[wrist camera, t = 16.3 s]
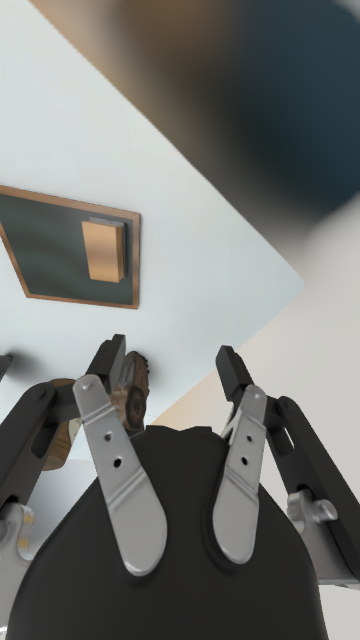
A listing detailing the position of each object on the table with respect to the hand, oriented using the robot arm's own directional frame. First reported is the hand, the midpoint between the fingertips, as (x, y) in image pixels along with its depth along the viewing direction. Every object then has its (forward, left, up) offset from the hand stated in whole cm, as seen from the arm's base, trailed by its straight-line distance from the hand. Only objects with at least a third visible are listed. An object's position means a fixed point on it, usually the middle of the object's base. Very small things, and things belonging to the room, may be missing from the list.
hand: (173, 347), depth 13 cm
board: (0, -17, -22) cm, 28 cm away
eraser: (-2, -11, -21) cm, 23 cm away
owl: (+30, -8, -22) cm, 39 cm away
